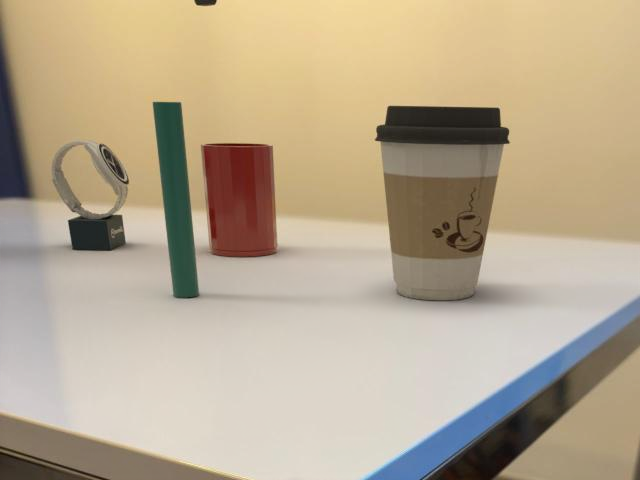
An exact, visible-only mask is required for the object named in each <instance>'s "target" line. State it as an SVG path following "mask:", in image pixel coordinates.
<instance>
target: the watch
mask: <svg viewBox="0 0 640 480" xmlns="http://www.w3.org/2000/svg"><path fill="white" fill-rule="evenodd" d="M77 146H84V147H83V148H84V149H85V150H86V151H87V152H88V153H89V154H90V159H91V161H92V163H93V164H92V165H93V166H94V168H95V169H96V171H97V173H98V174H99V175H100V177H101V178H102V179H103V181H104V182H105V183H106V184H107V185H108V186H110V187H111V188H112V190H113V192H114V194H115V195H116V196H117V199H116V201H115V203H114V205H113V207H112V208H111V209H110V210H109V211H108V212H105V213H96V212H95V213H94V212H92V211H89V210H87V209H85V208H84V207H82V203H81V201H80V200H79V199H78V197H77V196H76V194H75V193H74V191H73V190H72V188H71V186H70V184H69V182H68V180H67V178H65V173H64V171H63V170H62V165H63V160H64V158H65V157H66V155H67V153H68V152H70V151H71V150H72V149H73V148H75V147H77ZM51 173H52V174H51V176H52V179H51V181H52V183H53V186H54V188H55V190H56V191H57V193H58V195H59V197H60V199H61V200H62V201H63V202H64V203H63V204H65V206H66V207H67V208H68V209H69V210H70V211H71V212H72V213H75V214H77V215H79V216H76V217H73V218H70V219H67V224H68V229H69V230H68V231H69V237H70V242H71V250H74V251H75V250H79V251H87V250H88V251H113V250H114V249H117V248H118V247H120V246H122V245H124V244H125V243H126V235H125V227H124V219H123V214H116V213H117V212H119V211H120V210H121V209H122V207H123V206H124V205H125V203H126V199H127V197H128V192H129V187H128V186H129V185H130V179H129V176H128V173H127V171H126V169H125V167H124V165H123V164H122V162H121V160H120V159H119V158H118V157H117V155H116V154H115V153H114V152H113V150H112V149H111V148H109V146H107V145H106V144H104V143H102V142H99V143H98V142H96V141H92V140H77V141H72V142H67V143H66V144H64V145H62V146H61V147H60V148H58V150H57V151H56V153H55V154H54V156H53V159H52V162H51Z"/></svg>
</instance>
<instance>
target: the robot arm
mask: <svg viewBox="0 0 640 480" xmlns="http://www.w3.org/2000/svg"><path fill="white" fill-rule="evenodd" d="M193 1H194V4H195V5H196V6H201V7H209V6H210V7H211V6H215V5H216V4H217V2H218V0H193Z"/></svg>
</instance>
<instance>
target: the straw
mask: <svg viewBox="0 0 640 480" xmlns="http://www.w3.org/2000/svg"><path fill="white" fill-rule="evenodd" d="M182 106H183V105H182V102H180V101H152V111H153V112H152V113H153V120H154V128H155V129H154V130H155V138H156V147H157V157H158V167H159V175H160V183H161V184H160V185H161V194H162V202H163V212H164V220H165V221H164V222H165V231H166V239H167V240H166V241H167V250H168V259H169V267H170V268H169V269H170V275H171V276H170V279H171V286H172V295H173V297H175V298H179V299H189V298H188V297H191V298H195V296H196V297H198V296H199V295H200V288H199V277H198V268H197V257H196V245H195V236H194V225H193V214H192V203H191V202H192V201H191V192H190V191H191V190H190V182H189V171H188V161H187V149H186V148H187V147H186V139H185V130H184V129H185V127H184V126H185V125H184V117H183V107H182Z"/></svg>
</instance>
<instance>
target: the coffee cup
mask: <svg viewBox="0 0 640 480" xmlns="http://www.w3.org/2000/svg"><path fill="white" fill-rule="evenodd" d="M375 131H376V137H375V138H374V141H375V142H380V152H381V153H380V154H381V162H382V172H383V183H384V193H385V204H386V213H387V221H388V222H387V223H388V224H387V225H388V235H389V243H390V253H391V264H392V274H393V282H394V283H395V285H396V292H397V294H398V295H401V296H403V297H406V298H409V299H415V300H423V301H455V300H458V301H459V300H464V299H467V298H470V297H473V295H474V293H475V288H476V286H477V284H478V282H479V278H480V272H481V266H482V261H483V256H484V251H485V246H486V240H487V235H488V230H489V225H490V219H491V214H492V209H493V203H494V200H495V195H496V188H497V184H498V178H499V172H500V167H501V162H502V156H503V151H504V147H505V145H509V144H511V142H510V140H509V136H510V129H509V128H508V127H506V126H502V120H501V109H500V107H489V106H488V107H487V106H485V107H484V106H437V105H435V106H432V105H431V106H430V105H427V106H426V105H425V106H424V105H388V106H387V107H386V115H385V121H384V124H379V125H377V126H376V129H375Z"/></svg>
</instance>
